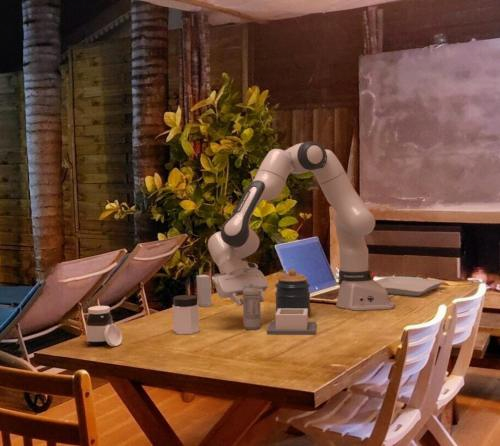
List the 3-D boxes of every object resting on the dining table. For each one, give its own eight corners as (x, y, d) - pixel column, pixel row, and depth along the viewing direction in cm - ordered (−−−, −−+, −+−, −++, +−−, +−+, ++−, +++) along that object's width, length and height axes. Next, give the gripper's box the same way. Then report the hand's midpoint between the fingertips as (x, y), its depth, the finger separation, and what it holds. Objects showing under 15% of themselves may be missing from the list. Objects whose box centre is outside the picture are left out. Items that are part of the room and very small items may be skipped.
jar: (202, 332, 241) (201, 297, 240) (179, 335, 238) (178, 300, 237) (192, 327, 249) (191, 293, 248) (170, 330, 246) (169, 296, 245)
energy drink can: (261, 325, 249) (260, 283, 248) (260, 330, 243) (259, 286, 242) (244, 325, 250) (243, 283, 249) (242, 330, 244) (241, 286, 243)
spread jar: (92, 339, 236) (91, 304, 235) (126, 339, 235) (125, 304, 234) (83, 349, 224) (81, 312, 223) (118, 348, 223) (117, 312, 222)
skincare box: (211, 306, 285) (211, 276, 284) (201, 307, 284) (200, 277, 282) (207, 303, 291) (206, 274, 290) (196, 304, 289) (196, 274, 288)
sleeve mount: (316, 324, 249) (316, 307, 248) (315, 334, 235) (314, 316, 235) (270, 324, 251) (270, 307, 250) (266, 334, 237) (266, 316, 237)
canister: (317, 315, 264) (317, 268, 263) (295, 321, 255) (294, 272, 253) (290, 310, 273) (290, 265, 271) (268, 316, 264) (267, 269, 262)
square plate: (388, 283, 329) (387, 275, 328) (445, 289, 313) (445, 280, 312) (361, 293, 307) (361, 284, 307) (421, 299, 291) (421, 290, 291)
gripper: (213, 269, 244) (231, 301, 238) (260, 263, 257) (278, 293, 250) (206, 280, 248) (223, 312, 241) (252, 274, 261) (270, 304, 254)
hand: (251, 302), depth 246 cm, fingers open, 8 cm apart
